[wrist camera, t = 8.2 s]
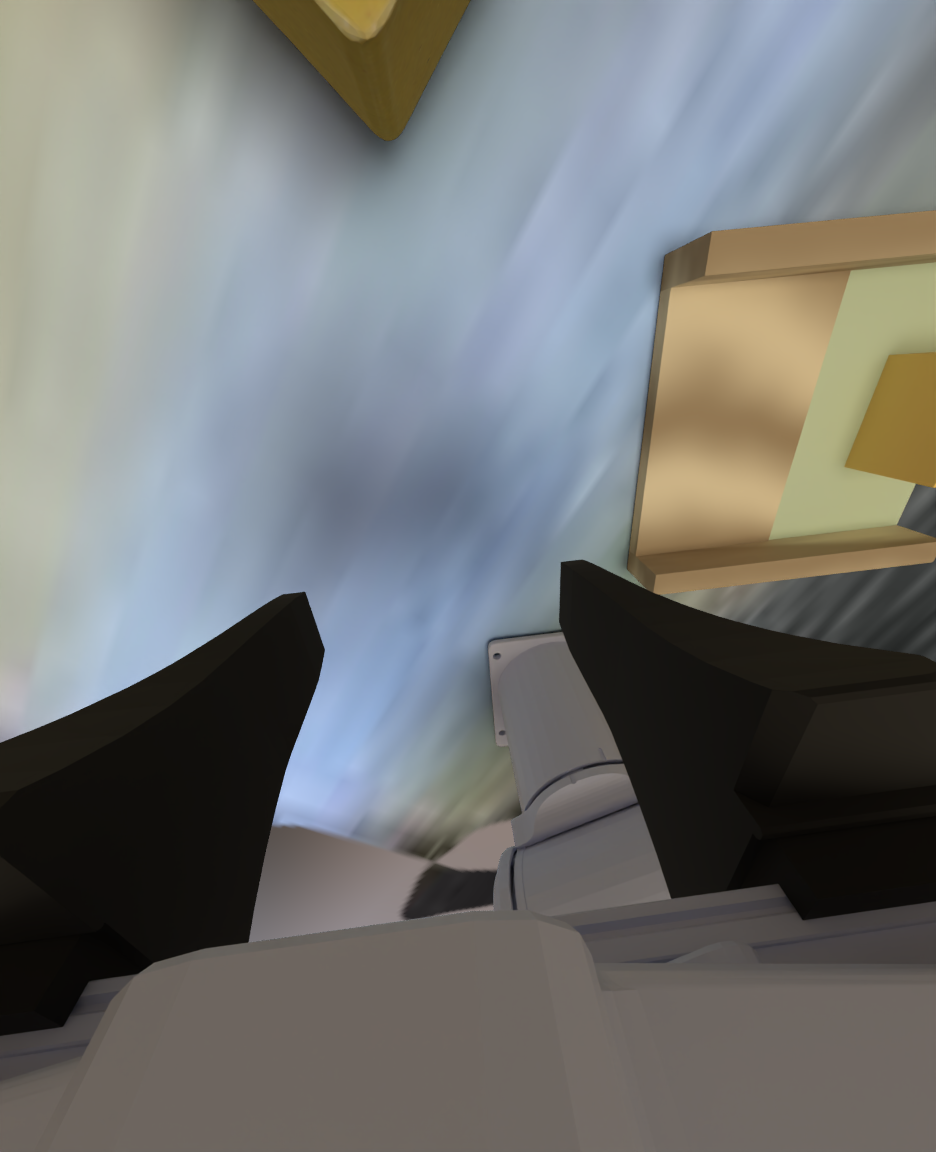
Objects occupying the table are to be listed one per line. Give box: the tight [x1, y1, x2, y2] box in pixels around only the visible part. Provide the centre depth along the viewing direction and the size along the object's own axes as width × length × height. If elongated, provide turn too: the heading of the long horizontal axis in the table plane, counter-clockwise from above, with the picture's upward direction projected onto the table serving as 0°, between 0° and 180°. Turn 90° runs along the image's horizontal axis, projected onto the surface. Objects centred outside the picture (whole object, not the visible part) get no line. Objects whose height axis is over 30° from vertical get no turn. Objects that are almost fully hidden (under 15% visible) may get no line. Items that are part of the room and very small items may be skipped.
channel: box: [627, 210, 936, 595], centre depth 18 cm, size 14×15×3 cm
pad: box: [769, 262, 936, 540], centre depth 19 cm, size 12×8×1 cm, turn 5°
